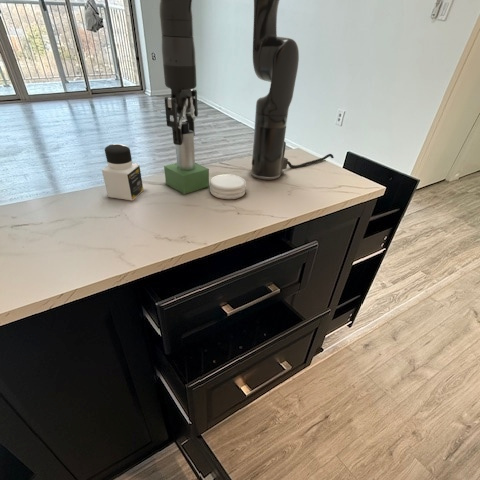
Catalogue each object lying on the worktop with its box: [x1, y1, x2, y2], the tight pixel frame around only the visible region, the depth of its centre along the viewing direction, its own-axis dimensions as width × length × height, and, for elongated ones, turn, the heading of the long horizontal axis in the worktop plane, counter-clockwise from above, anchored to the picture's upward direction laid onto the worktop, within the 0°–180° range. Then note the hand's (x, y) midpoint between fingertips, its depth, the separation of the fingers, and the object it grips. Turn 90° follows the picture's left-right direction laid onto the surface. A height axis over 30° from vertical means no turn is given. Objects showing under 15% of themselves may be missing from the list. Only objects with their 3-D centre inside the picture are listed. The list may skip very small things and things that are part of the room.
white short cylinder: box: [209, 173, 247, 200], centre depth 90 cm, size 10×10×4 cm
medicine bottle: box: [101, 143, 144, 201], centre depth 83 cm, size 7×7×12 cm
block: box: [163, 162, 210, 195], centre depth 91 cm, size 9×9×5 cm
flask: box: [174, 121, 196, 171], centre depth 86 cm, size 5×5×11 cm
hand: (184, 140), depth 85 cm, fingers open, 7 cm apart
